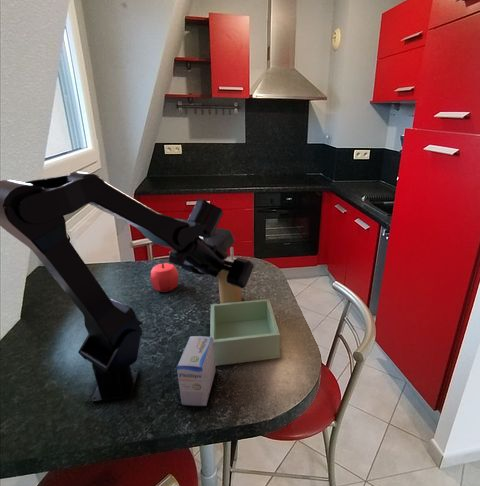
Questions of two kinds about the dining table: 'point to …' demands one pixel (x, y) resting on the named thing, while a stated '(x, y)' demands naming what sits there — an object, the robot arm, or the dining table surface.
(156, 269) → the apple
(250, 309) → the bin
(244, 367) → the dining table surface
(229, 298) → the straw cup
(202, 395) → the medicine box
